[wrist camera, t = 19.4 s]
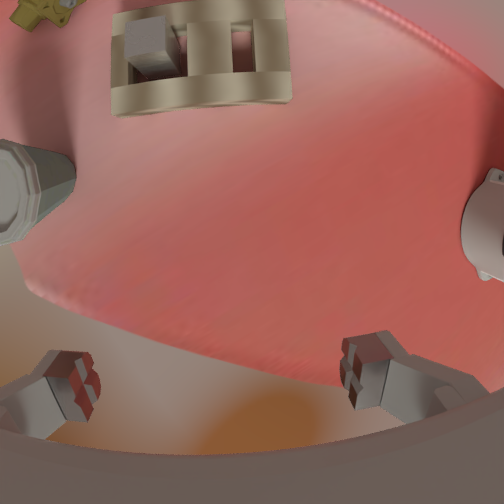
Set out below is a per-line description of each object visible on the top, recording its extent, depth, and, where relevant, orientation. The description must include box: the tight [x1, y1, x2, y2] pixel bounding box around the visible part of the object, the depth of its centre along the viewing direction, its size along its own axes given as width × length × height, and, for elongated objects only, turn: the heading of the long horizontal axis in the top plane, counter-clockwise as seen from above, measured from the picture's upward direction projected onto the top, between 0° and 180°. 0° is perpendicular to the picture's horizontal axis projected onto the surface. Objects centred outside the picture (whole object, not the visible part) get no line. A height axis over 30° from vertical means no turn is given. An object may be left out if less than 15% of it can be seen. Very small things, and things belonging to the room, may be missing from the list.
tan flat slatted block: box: [111, 0, 292, 119], centre depth 32 cm, size 20×13×4 cm, turn 93°
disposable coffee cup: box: [0, 139, 76, 246], centre depth 29 cm, size 11×11×15 cm
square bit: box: [124, 15, 181, 80], centre depth 29 cm, size 4×4×10 cm
